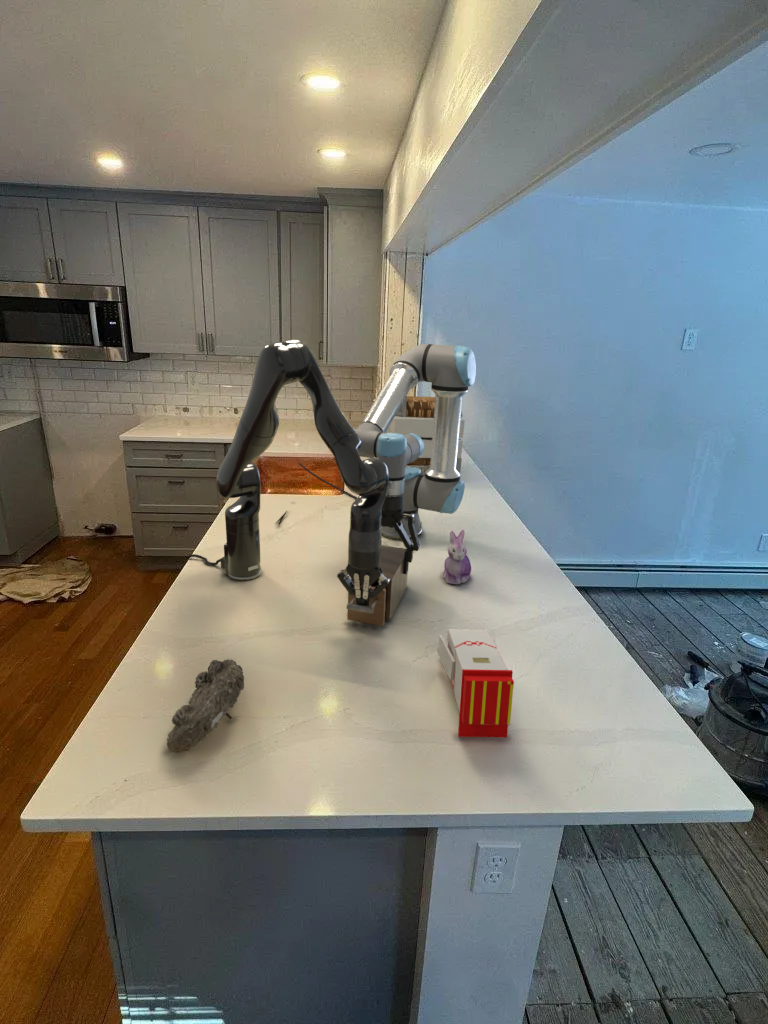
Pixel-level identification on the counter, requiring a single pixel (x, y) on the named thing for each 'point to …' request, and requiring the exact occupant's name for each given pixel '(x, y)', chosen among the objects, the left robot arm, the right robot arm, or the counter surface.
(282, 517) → the feather
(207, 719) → the fossil
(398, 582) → the cabinet
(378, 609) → the drawer
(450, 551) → the figurine
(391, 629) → the counter surface
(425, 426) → the white tiered storage organizer
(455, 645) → the toy
